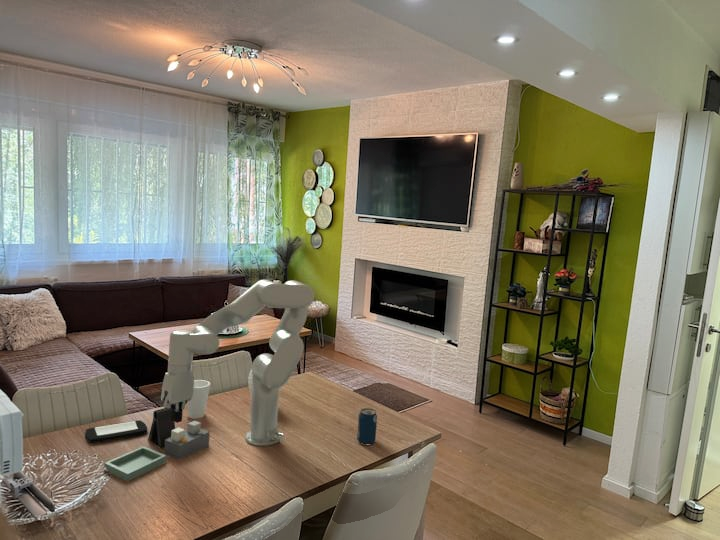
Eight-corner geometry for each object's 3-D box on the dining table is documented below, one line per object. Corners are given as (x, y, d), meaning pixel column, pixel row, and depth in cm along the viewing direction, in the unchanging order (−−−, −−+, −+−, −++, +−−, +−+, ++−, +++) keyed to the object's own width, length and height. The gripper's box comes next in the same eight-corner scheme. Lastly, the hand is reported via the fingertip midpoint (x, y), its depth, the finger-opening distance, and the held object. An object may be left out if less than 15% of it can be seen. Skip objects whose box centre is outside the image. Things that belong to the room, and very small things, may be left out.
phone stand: (148, 440, 172) (149, 407, 170) (164, 435, 176) (165, 403, 175) (161, 449, 166) (162, 415, 165) (177, 443, 171) (178, 410, 169)
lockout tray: (166, 462, 157) (166, 455, 157) (127, 481, 145) (127, 474, 145) (143, 452, 162) (143, 446, 162) (104, 470, 150) (104, 462, 150)
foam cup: (213, 415, 196) (215, 383, 195) (194, 422, 189) (196, 389, 187) (197, 408, 201) (199, 378, 200) (179, 415, 194) (180, 383, 192)
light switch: (142, 416, 187) (150, 427, 175) (142, 424, 187) (150, 435, 175) (83, 426, 175) (87, 438, 164) (83, 433, 175) (87, 446, 164)
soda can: (378, 442, 183) (381, 412, 182) (366, 448, 178) (369, 416, 177) (365, 436, 188) (367, 406, 186) (352, 441, 183) (355, 410, 181)
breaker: (200, 432, 170) (200, 422, 170) (193, 435, 168) (194, 425, 167) (194, 430, 172) (194, 420, 171) (187, 433, 169) (187, 423, 169)
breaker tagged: (184, 439, 164) (184, 429, 164) (177, 443, 162) (177, 432, 161) (178, 437, 166) (178, 427, 165) (171, 440, 163) (171, 430, 163)
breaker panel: (208, 445, 171) (209, 430, 170) (179, 460, 159) (179, 443, 159) (194, 439, 174) (195, 424, 174) (164, 453, 163) (165, 438, 162)
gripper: (189, 360, 169) (186, 411, 171) (153, 370, 156) (150, 425, 158) (205, 365, 166) (201, 417, 168) (169, 375, 153) (166, 431, 154)
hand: (176, 420), depth 163 cm, fingers closed
